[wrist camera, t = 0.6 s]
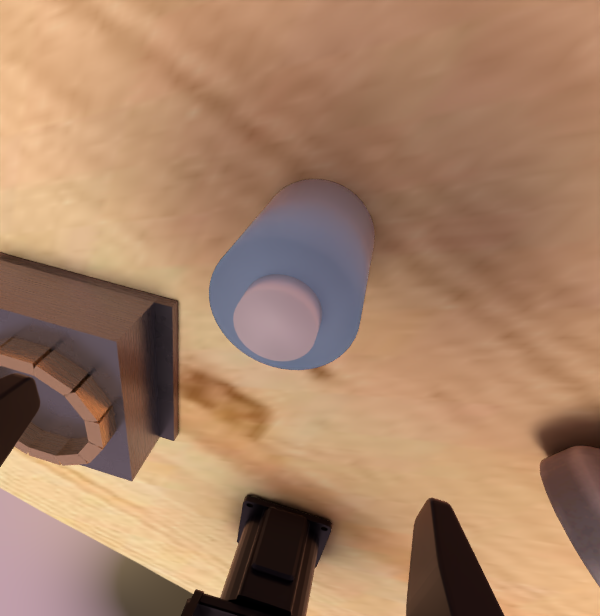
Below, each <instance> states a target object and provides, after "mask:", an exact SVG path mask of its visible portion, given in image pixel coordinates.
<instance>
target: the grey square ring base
mask: <svg viewBox="0 0 600 616" xmlns="http://www.w3.org/2000/svg"><path fill="white" fill-rule="evenodd" d="M13 373H20V374H23V375H27V376H30V377H32V378H33V379H34V380H35V382H36V386H37V390H38V393H39V397H40V408H39V410H38V412H37V414H36V415H35V417H34V418H33V420H32V421H31V423H30V424H29V425H28V427H27V428H26V430H25V431H24V433H23V434H22V436H21V437H20V439H19V440H18V442H17V443H16V445H15V447H16V448H18V449H19V450H21V451H23V452H24V453H26V454H27V453H29V455H30V456H33V457H36V458H39V459H43V460H46V461H49V462H52V463H55V464H58V465H61V464H62V465H82V466H86V467H89V468H92V469H95V470H98V471H101V472H104V473H108V474H111V475H114V476H117V477H120V478H123V479H127V480H130V481H133V479H134V478H135V476H136V474H137V473H138V471H139V470H140V468H141V466H142V465H143V463H144V461H145V460H146V458H147V457H148V455H149V453H150V452H151V450H152V449H153V447H154V445H155V444H156V442H157V441H158V439H159V437H162V438H166V439H169V440H172V441H174V440H175V438H176V437H177V435H178V301H175V300H172V299H168V298H164V297H161V296H157V295H153V294H150V293H146V292H142V291H139V290H135V289H131V288H128V287H124V286H120V285H117V284H113V283H109V282H106V281H102V280H98V279H95V278H91V277H87V276H84V275H80V274H77V273H73V272H69V271H66V270H62V269H58V268H55V267H51V266H47V265H44V264H40V263H36V262H33V261H29V260H25V259H22V258H18V257H14V256H11V255H7V254H3V253H0V378H2V377H4V376H7V375H9V374H13Z"/></svg>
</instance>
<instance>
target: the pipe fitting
mask: <svg viewBox="0 0 600 616" xmlns="http://www.w3.org/2000/svg"><path fill="white" fill-rule="evenodd" d="M540 475H541V478H542V481H543V484H544V487H545V490H546V493H547V495H548V497H549V500H550V502H551V504H552V507H553V509H554V511H555V513H556V515H557V517H558V519H559V521H560V523H561V524H562V526H563V528H564V530H565V532H566V534H567V536H568V537H569V539H570V541H571V543H572V545H573V546H574V548H575V550H576V551H577V553H578V555H579V556H580V558H581V560H582V561H583V563H584V564H585V566H586V567H587V569H588V571H589V572H590V574H591V575H592V577H593V578H594V580H595V581H596V583H597V584H598V585H599V587H600V448H595V447H590V446H574V447H570V448H568V449H565V450H563V451H561V452H559V453H556V454H554V455H552V456H549V457H547V458H545V459H543V460H542V461H541V463H540Z"/></svg>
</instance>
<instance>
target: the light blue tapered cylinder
mask: <svg viewBox="0 0 600 616" xmlns="http://www.w3.org/2000/svg"><path fill="white" fill-rule="evenodd" d="M374 239H375V233H374V226H373V221H372V219H371V216H370V214H369V212H368V210H367V208H366V207H365V205H364V204H363V202H362V201H361V200H360V199H359V198H358V197H357V196H356V195H355V194H354V193H353V192H351V191H350V190H349V189H347V188H345V187H344V186H342V185H339V184H337V183H335V182H331V181H328V180H322V179H307V180H302V181H297V182H295V183H292V184H290V185H288V186H286V187H285V188H283V189H282V190H281V191H279V192H278V193H277V194H276V195H275V196H274V197H273V198H272V200H271V201H270V202H269V203H268V204H267V206H266V207H265V208H264V209H263V210H262V211H261V213H260V214H259V215H258V216H257V217H256V219H255V220H254V221H253V222H252V223H251V224H250V226H249V227H248V228H247V229H246V230H245V232H244V233H243V234H242V235H241V236H240V237H239V239H238V240H237V241H236V242H235V243H234V245H233V246H232V247H231V248H230V249H229V251H228V252H227V253H226V254H225V255H224V256H223V258H222V259H221V260H220V262H219V263H218V264H217V266H216V268H215V270H214V272H213V274H212V277H211V281H210V287H209V300H210V306H211V310H212V313H213V316H214V318H215V320H216V322H217V324H218V326H219V328H220V329H221V331H222V332H223V333H224V335H225V336H226V337H227V338H228V339H229V340H230V342H231V343H232V344H233V345H235V346H236V347H237V348H238V349H239V350H241V351H242V352H243V353H245V354H246V355H248V356H249V357H251V358H253V359H255V360H257V361H259V362H261V363H264V364H267V365H269V366H272V367H277V368H281V369H289V370H305V369H312V368H317V367H320V366H323V365H326V364H328V363H330V362H332V361H334V360H335V359H337V358H338V357H340V356H341V355H342V354H343V353H344V352H345V351H346V350H347V349H348V348H349V347H350V345H351V344H352V342H353V341H354V339H355V337H356V335H357V332H358V329H359V324H360V319H361V314H362V308H363V303H364V297H365V292H366V286H367V281H368V275H369V270H370V264H371V259H372V253H373V247H374Z"/></svg>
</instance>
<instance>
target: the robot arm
mask: <svg viewBox="0 0 600 616" xmlns="http://www.w3.org/2000/svg"><path fill="white" fill-rule="evenodd" d="M39 408H40V397H39V393H38V390H37V386H36V382H35V380H34V379H33V378H32V377H30V376H27V375H23V374H20V373H13V374H9V375H7V376H4V377H2V378H0V467H1V465H2V464H3V462H4V461H5V459H6V458H7V457H8V455H9V454H10V452H11V451H12V449H13V448H14V446H15V445H16V443H17V442H18V440H19V439H20V437H21V436H22V434H23V433H24V431H25V430H26V428H27V427H28V425H29V424H30V423H31V421H32V420H33V418H34V417H35V415H36V414H37V412H38V410H39ZM331 529H332V523H331V522H330V521H328V520H326V519H323V518H319V517H316V516H313V515H310V514H306V513H303V512H300V511H297V510H294V509H290V508H287V507H284V506H281V505H278V504H274V503H271V502H268V501H265V500H262V499H258V498H255V497H252V496H247V497H245V500H244V502H243V508H242V514H241V520H240V526H239V533H238V539H237V542H238V547H237V550H236V553H235V556H234V559H233V562H232V565H231V568H230V571H229V574H228V576H227V579H226V582H225V585H224V588H223V591H222V594H221V597H220V598H218V597H214V596H211V595H208V594H204V592H203V591H200V590H197V589H196V590H195V592H194V594H193V596H192V598H190V599H187V602H186V605H185V607H184V609H183V612H182V614H181V616H306V613H307V607H308V602H309V597H310V591H311V586H312V580H313V575H314V569H315V568H316V567H317V564H318V562H319V560H320V557H321V555H322V552H323V550H324V547H325V545H326V542H327V540H328V537H329V535H330V533H331ZM406 616H504V614H503V612H502V610H501V608H500V606H499V604H498V602H497V600H496V598H495V595H494V593H493V591H492V589H491V587H490V585H489V583H488V581H487V579H486V577H485V575H484V573H483V571H482V569H481V567H480V565H479V563H478V560H477V558H476V556H475V554H474V552H473V550H472V548H471V546H470V544H469V542H468V540H467V538H466V536H465V534H464V532H463V530H462V528H461V525H460V523H459V521H458V519H457V517H456V515H455V513H454V511H453V509H452V507H451V506H450V505H449V504H448V503H447V502H445V501H441V500H438V499H435V498H429V499H428V500H427V501H426V503H425V504H424V506H423V508H422V509H421V511H420V512H419V514H418V516H417V518H416V520H415V524H414V530H413V540H412V551H411V561H410V572H409V582H408V592H407V605H406Z"/></svg>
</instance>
